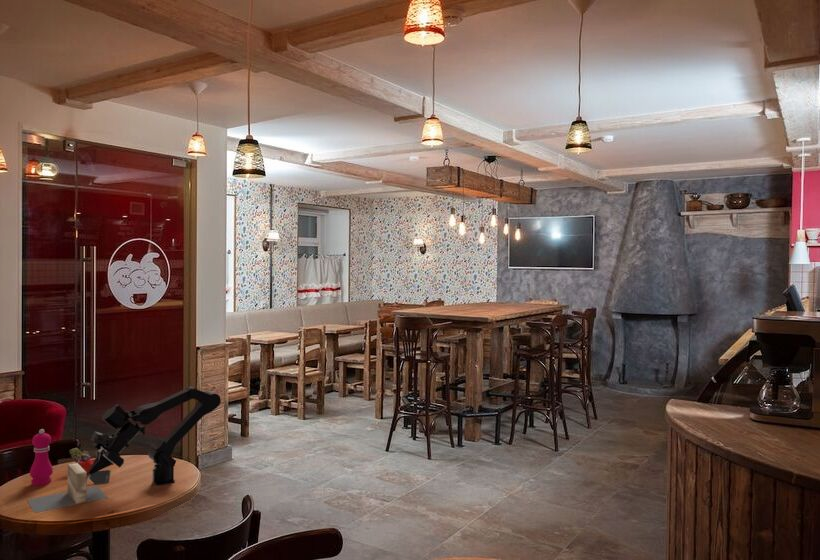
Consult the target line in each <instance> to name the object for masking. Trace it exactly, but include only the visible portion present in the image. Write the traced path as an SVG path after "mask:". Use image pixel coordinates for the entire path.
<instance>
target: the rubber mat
mask: <svg viewBox="0 0 820 560" xmlns="http://www.w3.org/2000/svg"><path fill="white" fill-rule="evenodd" d="M108 498H109V497H108V496H107V495H106V494H105V492H104V491H102V490H101V488H100V487H99V486H97V485H93V486H88V487H87V498H86V502H82V503H77V504H76V503H75V502H74V500H73V499H72V498H71V497H70V495H69V494H68V491H66V492H60V493H54V494H50V495H44V496H39V497H33V498H30V499H29V498H28V499H26V502H27V503H28V504H29V507H31V509H32V511H33V512H34V513H35V514H37V513H43V512H48V511H52V510H56V509H61V508H66V507H71V506H75V505H80V504H86V503H91V502H95V501H100V500H104V499H105V500H106V499H108Z"/></svg>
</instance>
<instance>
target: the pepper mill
mask: <svg viewBox="0 0 820 560" xmlns="http://www.w3.org/2000/svg"><path fill="white" fill-rule="evenodd" d="M31 443H32V444H31V445H33V452H34V460H33V463H32V465H31V467H30V470H29V476H30V477H31V478H32V479H31V483H30V484H31V486H33V487H34V486H44V485H45V486H46V485H48V484H50V483H52V477H51V476H52V475H53V472H54V469H53V468H54V467H53V465H52V464H51V461H50V459H49V451H50V444H51V443H52V437H51V435H50V434H49V433H46V432H45V429H44V428H41V429H39V431H38V433H36V434H35V435H34V436H33V437H32V440H31Z"/></svg>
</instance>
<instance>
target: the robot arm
mask: <svg viewBox="0 0 820 560" xmlns="http://www.w3.org/2000/svg"><path fill="white" fill-rule="evenodd" d="M221 399H222V398H221V397H220V395H219V394H218V393H215V392H213V391H210V390H206V391H203V390H199V389H197V388H195V387H193V386H187V387H186V388H184V389H181V390H180V391H178V392H175V393H174V394H171V395H168V397H165V398H163V399H161V400H159V401H156V402H152V403H151V402H150V403H146V404H143V405H139V406H137V407H136V408H135V409H132V410H129V411H125V410H124V409H122V407H121V406H120V405H119V404H115V405H114V406H113V407H111V408H109V409H107V410H106V411H105V412H104V413H103V415H102V416H101V420H102V421H104V422H105V423H106V424H107V425H108V426H110V427H111V428H112V429H113V430H117V429H118V430H117V431H116V432H113V433H111V434H110V435H109V434H108V433H104V432H103V433H102V432H98V431H94V432H93V434H92V436H91V438H90V441H91V442H92V446H93V447H94V448H96V449H95V455H96V456H95V458H94V459H95V460H94V459H93V460H94V462H93V464H92V466H91V468H90V470H89V471H88V473H89V474H93V473H95V472H97V471H102V470H103V469H105V468H107V467H111V466H113V465H116V467H118V468H121V467H122V466H123V464H124V463H125V459H124V458H123V457H121V452H122V451H123V450H124V449H125V448H129V446H130V445H129V444H130V442H131V441H132V440H133V439H134V438H135V437H136V436H137V435H138V434H139V433H141V434H142V435H146V426H144V425H149V424H151V423H152V422H154V421H155V420H157V419H158V418H159V417H160V416H161V415H162V414H164V413H165V412H167V411H169V410H172V409H174V408H176V407H178V406H180V405H182V404H184V403H186V402H188V401H190V400H195V401H196V403H195V405H194V407H193V408H192V409H191V411H190V412H189V413H188V414H187V415H186V416H185V417H184V418H183V419H182V420H181V421H179V423H178V424H177V425H176V426H175V427H174V428H173V430H171V432H170V433H169V434H168V435H167V436H165V437H163V438H161V437H157V438H156V439H155V440H154V442H153V443H151V444H150V445H149V449H148V451H147V456H148V458H149V459H151V461H153V462H152V463H153V464H154V465H153V466H154V468H153V469H152V481H153V483H155V485H157V486H159V485H160V486H161V485H164V484H165V485H166V484H170V483H174V481H175V482H176V479H174V477H175V476H174V474H175V471H174V468H175V466H176V463H177V461H176V459H174V458H173V457H172V455H173V453H174V450H175V449H176V446H177V445H178V444H179V442H180V441H181V440H182V439H183V438H184V437H185V436H186V435H187V434H189V432H190V431H191V430H192V429H193V427H194V426H195V425H196V424H197V423H198V422H200V421H201V419H202V418H203V417H204V416H206V415H208V414H210V413H212V412H213V411H215V410H216V409H217V408H218V407H219V406H220V405H221V404H222V402H221V401H222V400H221ZM129 419H130V420H132V422H131V421H130V420H129ZM140 424H141V425H140Z"/></svg>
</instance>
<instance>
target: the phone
mask: <svg viewBox="0 0 820 560" xmlns="http://www.w3.org/2000/svg"><path fill="white" fill-rule="evenodd" d="M111 471H112V470H109V469H107V470H99V471H97V472H95V473H93V474H89V473H88V474H87V479H89V480H90V481H91V482H92V483H93V484H91V486H97V485H98V486H99V485H106V484H109V482H110V477H111ZM87 487H89V484H87Z"/></svg>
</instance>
